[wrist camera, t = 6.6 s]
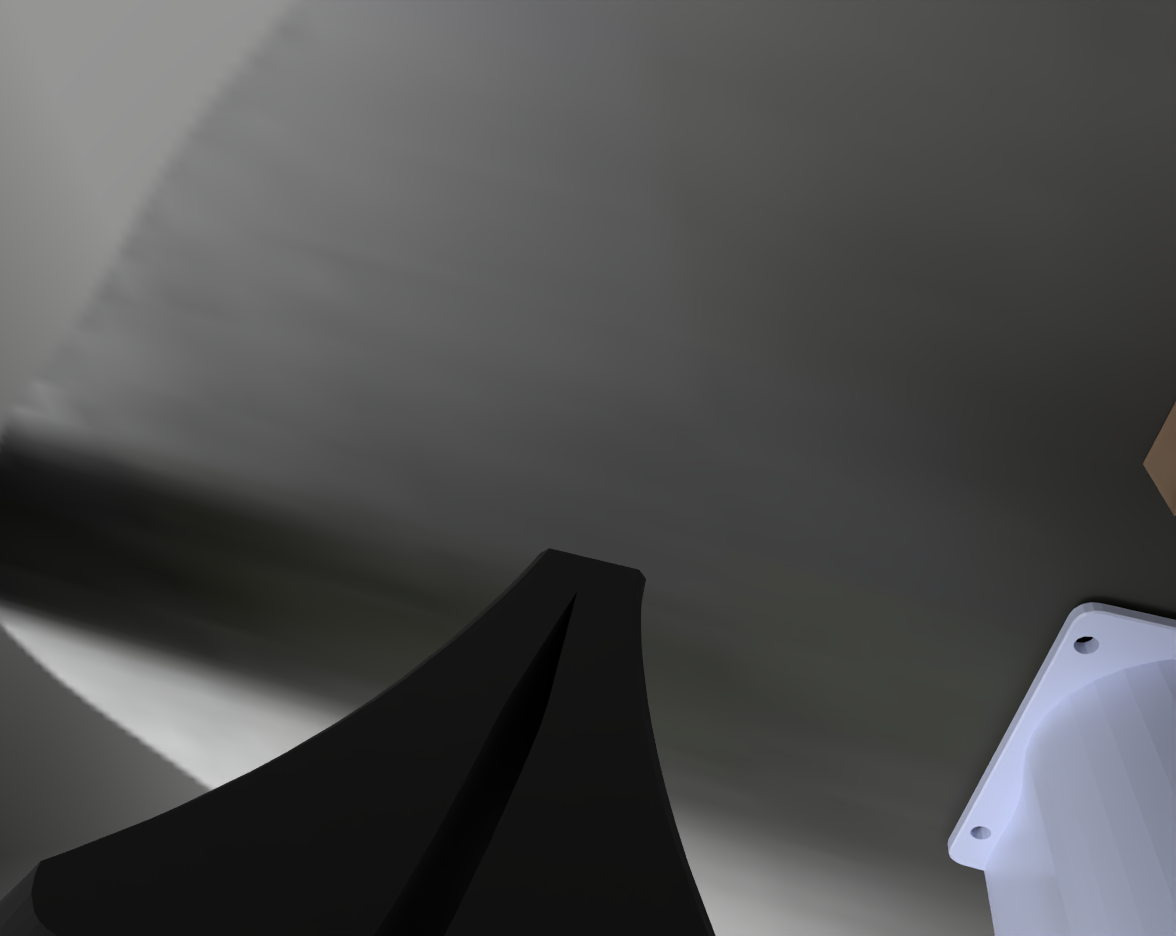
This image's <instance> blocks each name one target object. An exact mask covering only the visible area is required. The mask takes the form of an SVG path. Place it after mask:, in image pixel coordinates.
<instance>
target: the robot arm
mask: <svg viewBox="0 0 1176 936" xmlns="http://www.w3.org/2000/svg"><path fill="white" fill-rule="evenodd" d="M645 582H646V578H645V577H644V576H643V574H642V573H641V572H640V570H638V569H634V568H629V567H625V566H621V565H617V564H613V563H608V562H604V561H600V560H596V559H592V558H587V557H583V556H579V555H575V554H571V553H567V552H562V551H558V550H554V549H550V548H549V549H547V550H545V551H544V552H542V553H540V554H539V555H538V556H537V557H536V559H535V560H534V561H533V562H532V563H531V564H530V565H529V566H528V567H527V568H526V569H525V571H524V572H523V573H522V574H521V575H520V576H519V577H518V578H517V579H516V580H515V581H514V582H513V583H512V584H511V585H510V586H509V587H508V588H507V589H506V590H505V591H504V592H503V593H502V594H501V595H500V596H498V597H497V598H496V599H495V600H494V601H493V602H492V603H491V604H490V605H489V606H488V607H487V608H486V609H485V610H484V611H482V612H481V613H480V614H479V615H478V616H477V617H476V618H474V619H473V620H472V621H471V622H470V623H469V624H468V625H467V626H465V627H464V628H463V629H462V630H461V631H460V632H459V633H458V634H456V635H455V636H454V637H453V638H452V639H451V640H449V641H448V642H447V643H446V644H445V645H443V646H442V647H441V648H440V649H438V650H437V651H436V652H434V653H433V654H432V655H431V656H429V657H428V658H427V659H426V660H424V661H423V662H422V663H420V664H419V665H418V666H417V667H415V668H414V669H413V670H411V671H410V672H409V673H408V674H406V675H405V676H404V677H403V678H401V679H400V680H398V681H397V682H396V683H394V684H393V685H392V686H390V687H389V688H387V689H386V690H385V691H383V692H382V693H380V694H379V695H378V696H376V697H375V698H373V699H372V700H370V701H369V702H367V703H366V704H364V705H363V706H361V707H360V708H358V709H357V710H355V711H354V712H352V713H351V714H349V715H347V716H346V717H344V718H343V719H341V720H340V721H338V722H337V723H335V724H333V725H332V726H330V727H329V728H327V729H325V730H323V731H322V732H320V733H318V734H317V735H315V736H313V737H312V738H310V739H308V740H306V741H305V742H303V743H301V744H300V745H298V746H296V747H295V748H293V749H291V750H289V751H288V752H286V753H284V754H282V755H281V756H279V757H277V758H275V759H273V760H271V761H270V762H268V763H266V764H264V765H262V766H260V767H258V768H256V769H255V770H253V771H251V772H249V773H247V774H245V775H243V776H240V777H238V778H236V779H234V780H232V781H230V782H228V783H226V784H224V785H222V786H220V787H218V788H216V789H214V790H211V791H209V792H207V793H205V794H203V795H201V796H199V797H197V798H195V799H193V800H191V801H189V802H187V803H185V804H183V805H181V806H178V807H176V808H174V809H172V810H169V811H167V812H165V813H163V814H160V815H158V816H156V817H154V818H152V819H149V820H146V821H144V822H141V823H139V824H136V825H134V826H131V827H129V828H126V829H123V830H121V831H118V832H116V833H113V834H111V835H108V836H106V837H103V838H101V839H98V840H96V841H93V842H91V843H88V844H85V845H83V846H80V847H78V848H75V849H73V850H70V851H67V852H65V853H62V854H59V855H57V856H54V857H51V858H48V859H45V860H42V861H40V862H39V863H38V864H37V865H36V866H35V867H34V868H33V870H32V871H31V872H30V873H29V874H28V875H27V876H26V877H25V878H24V879H23V880H22V881H21V882H19V884H17V885H16V886H15V887H14V888H13V889H12V890H11V891H10V892H9V893H8V894H7V895H6V896H5V897H4V898H3V899H2V900H1V901H0V936H715V933H714V931H713V928H712V925H711V923H710V920H709V917H708V915H707V912H706V909H705V907H704V904H703V901H702V899H701V896H700V894H699V891H698V888H697V886H696V883H695V880H694V878H693V875H692V872H691V870H690V867H689V864H688V861H687V858H686V855H685V852H684V849H683V845H682V842H681V839H680V836H679V833H678V830H677V826H676V823H675V820H674V816H673V813H672V809H671V805H670V802H669V798H668V795H667V791H666V787H665V783H664V779H663V775H662V771H661V767H660V763H659V758H658V754H657V749H656V744H655V739H654V734H653V729H652V724H651V718H650V712H649V706H648V700H647V692H646V684H645V676H644V668H643V658H642V645H641V604H642V597H643V592H644V587H645ZM1084 636H1087V637H1093V638H1092V639H1091V640H1090V641H1088V642H1085V643H1080V642H1076V640H1077V639H1078V638H1081V637H1084ZM978 826H981V827H978ZM948 850H949V855H950V857H951V858H952V859H953V860H954V861H955V862H957V863H960V864H962V865H965V866H969V867H973V868H976V869H980V870H984V873H985V878H986V884H987V890H988V896H989V902H990V908H991V914H992V920H993V926H994V932H995V936H1176V620H1174V619H1169V618H1165V617H1160V616H1156V615H1151V614H1147V613H1143V612H1138V611H1134V610H1129V609H1125V608H1121V607H1116V606H1112V605H1107V604H1103V603H1094V602H1090V603H1085V604H1081V605H1080V606H1078V607H1076V608H1074V609H1073V610H1072V612H1071V613H1070V614H1069V615H1068V617H1067V619H1066V621H1065V623H1064V625H1063V627H1062V629H1061V630H1060V632H1059V634H1058V636H1057V638H1056V640H1055V642H1054V644H1053V645H1052V647H1051V649H1050V651H1049V653H1048V655H1047V657H1046V658H1045V660H1044V662H1043V664H1042V666H1041V668H1040V670H1039V672H1038V673H1037V675H1036V677H1035V679H1034V681H1033V683H1032V685H1031V687H1030V688H1029V690H1028V692H1027V694H1026V696H1025V698H1024V700H1023V701H1022V703H1021V705H1020V707H1019V709H1018V711H1017V713H1016V715H1015V716H1014V718H1013V720H1012V722H1011V724H1010V726H1009V728H1008V730H1007V731H1006V733H1005V735H1004V737H1003V739H1002V741H1001V743H1000V744H999V746H998V748H997V750H996V752H995V754H994V756H993V758H992V759H991V761H990V763H989V765H988V767H987V769H986V771H985V773H984V774H983V776H982V778H981V780H980V782H979V784H978V786H977V787H976V789H975V791H974V793H973V795H972V797H971V799H970V801H969V802H968V804H967V806H966V808H965V810H964V812H963V814H962V816H961V817H960V819H959V821H958V823H957V825H956V827H955V829H954V830H953V832H952V834H951V836H950V838H949V840H948Z"/></svg>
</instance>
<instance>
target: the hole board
mask: <svg viewBox="0 0 1176 936" xmlns="http://www.w3.org/2000/svg"><path fill="white" fill-rule="evenodd" d="M1143 465H1144V467H1145V468H1146V470H1147V472H1148V473H1149V475H1150V477H1151V478H1152V480H1153V482H1154V483H1155V485H1156V487H1157V488H1158V490H1159V492H1160V493H1161V495H1162V496H1163V498H1164V500H1165V501H1166V503H1167V505H1168V506H1169V508H1170V510H1171V511H1172V513H1173V515H1175V516H1176V402H1175V404H1174V406H1173V408H1172V410H1171V412H1170V414H1169V415H1168V417H1167V419H1166V421H1165V423H1164V425H1163V427H1162V429H1161V431H1160V432H1159V434H1158V436H1157V438H1156V440H1155V442H1154V444H1153V446H1152V448H1151V449H1150V451H1149V453H1148V455H1147V457H1146V459H1145V461H1144V463H1143Z"/></svg>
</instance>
